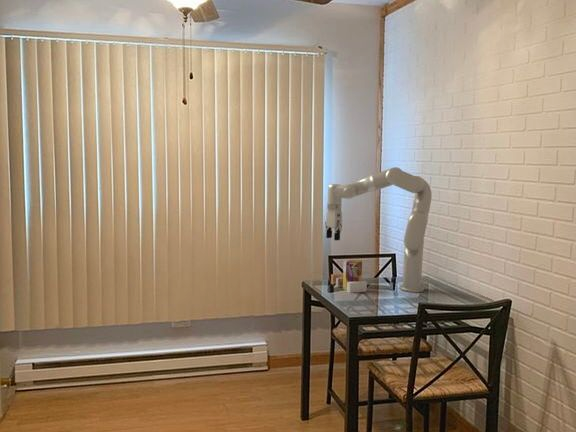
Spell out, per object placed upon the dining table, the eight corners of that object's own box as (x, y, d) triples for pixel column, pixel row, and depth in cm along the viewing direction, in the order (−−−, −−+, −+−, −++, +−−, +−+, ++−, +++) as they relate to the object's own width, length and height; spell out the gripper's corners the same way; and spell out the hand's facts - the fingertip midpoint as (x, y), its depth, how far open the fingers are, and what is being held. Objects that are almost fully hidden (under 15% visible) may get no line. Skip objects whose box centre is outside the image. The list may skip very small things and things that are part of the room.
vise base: (347, 284, 330) (348, 273, 330) (369, 293, 310) (370, 281, 310) (325, 285, 324) (325, 274, 324) (346, 295, 305) (346, 283, 304)
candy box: (358, 288, 317) (359, 259, 315) (361, 290, 313) (362, 260, 311) (342, 288, 314) (343, 259, 313) (345, 290, 310) (346, 261, 308)
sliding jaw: (345, 282, 328) (345, 273, 328) (354, 286, 320) (354, 276, 320) (329, 283, 324) (329, 274, 324) (337, 287, 316) (338, 277, 315)
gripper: (348, 208, 322) (347, 241, 324) (332, 205, 337) (331, 236, 339) (336, 208, 319) (334, 241, 321) (320, 205, 334) (319, 236, 336)
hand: (332, 238), depth 330 cm, fingers open, 8 cm apart
